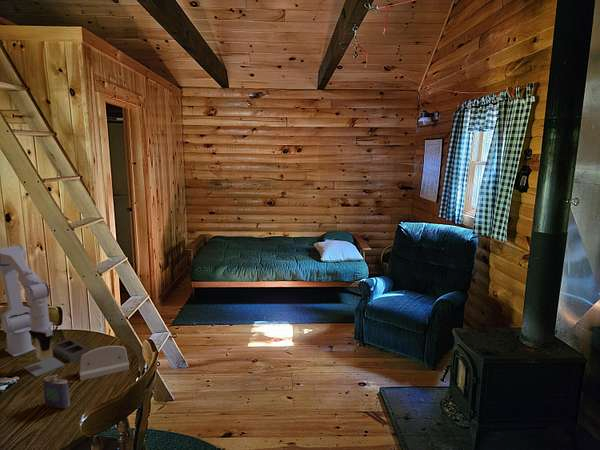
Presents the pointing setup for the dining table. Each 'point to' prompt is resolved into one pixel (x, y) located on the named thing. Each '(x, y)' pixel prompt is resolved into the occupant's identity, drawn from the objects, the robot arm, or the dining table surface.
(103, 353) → the grey rounded block
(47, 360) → the mat
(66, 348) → the double cubby frame
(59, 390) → the flask
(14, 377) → the dining table surface
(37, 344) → the tan rectangular block
